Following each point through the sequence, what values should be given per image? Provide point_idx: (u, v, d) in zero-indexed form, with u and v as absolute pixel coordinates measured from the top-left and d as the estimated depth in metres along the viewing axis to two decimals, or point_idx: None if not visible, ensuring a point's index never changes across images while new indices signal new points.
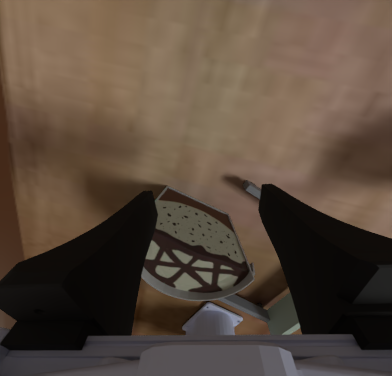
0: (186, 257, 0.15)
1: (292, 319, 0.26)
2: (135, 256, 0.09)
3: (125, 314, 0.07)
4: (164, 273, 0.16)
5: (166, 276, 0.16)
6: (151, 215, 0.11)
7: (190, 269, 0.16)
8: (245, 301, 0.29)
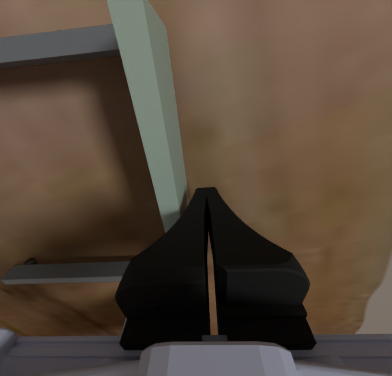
0: None
1: None
2: (206, 254, 0.08)
3: None
4: None
5: None
6: (207, 212, 0.11)
7: None
8: None
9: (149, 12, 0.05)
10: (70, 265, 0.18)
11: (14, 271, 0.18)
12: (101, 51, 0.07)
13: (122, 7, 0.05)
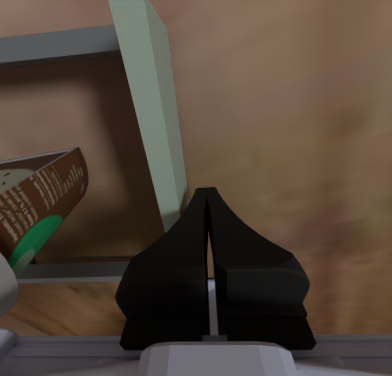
0: None
1: None
2: (206, 254, 0.08)
3: None
4: None
5: None
6: (207, 212, 0.11)
7: None
8: None
9: (150, 13, 0.05)
10: (69, 265, 0.18)
11: None
12: (102, 51, 0.07)
13: (124, 8, 0.05)
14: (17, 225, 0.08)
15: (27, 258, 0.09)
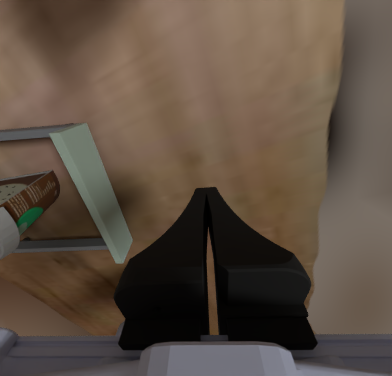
0: None
1: None
2: (205, 254, 0.08)
3: None
4: None
5: None
6: (207, 212, 0.11)
7: None
8: (94, 239, 0.27)
9: (66, 134, 0.15)
10: (52, 241, 0.28)
11: None
12: None
13: (54, 136, 0.15)
14: (19, 210, 0.18)
15: (23, 226, 0.19)
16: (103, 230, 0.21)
